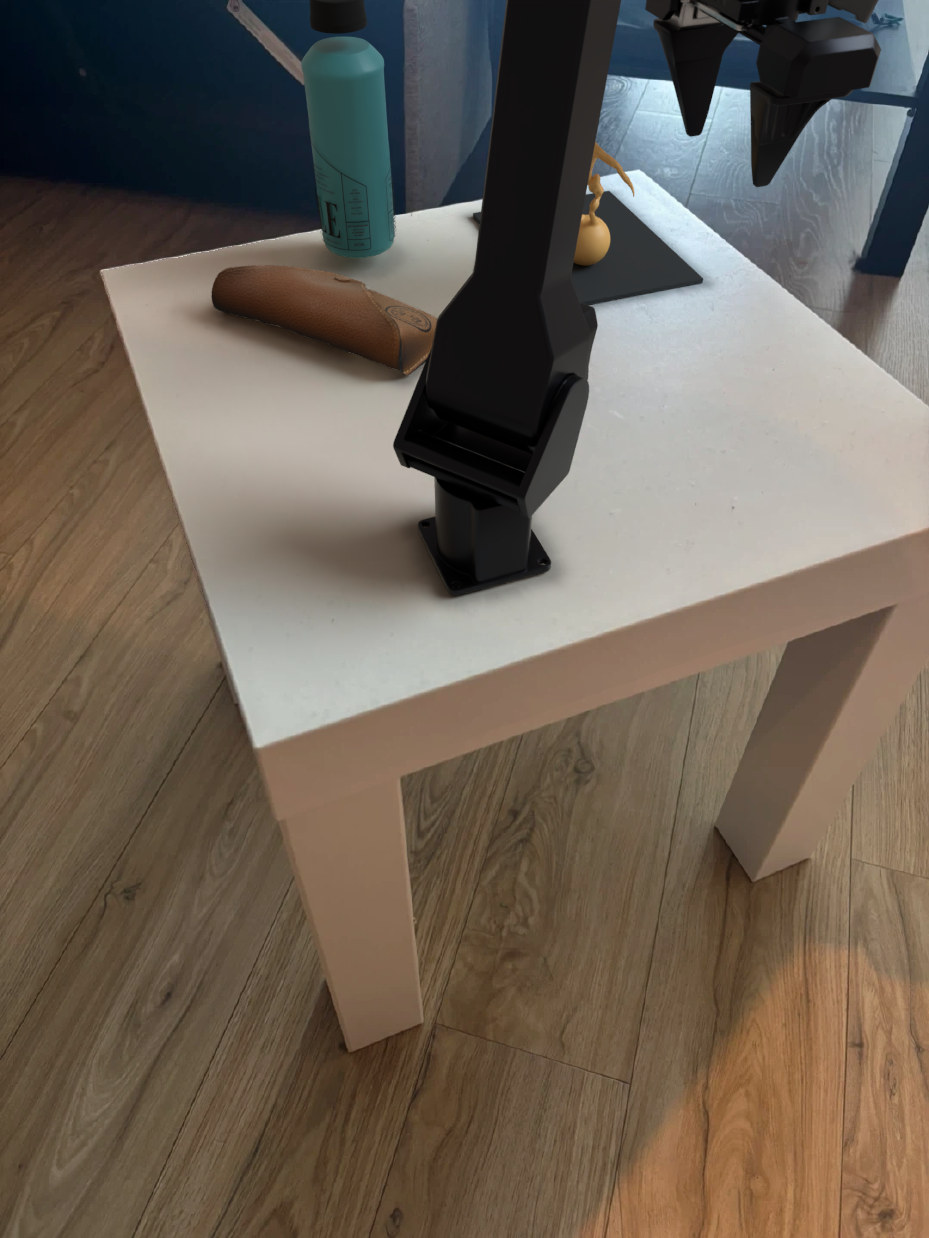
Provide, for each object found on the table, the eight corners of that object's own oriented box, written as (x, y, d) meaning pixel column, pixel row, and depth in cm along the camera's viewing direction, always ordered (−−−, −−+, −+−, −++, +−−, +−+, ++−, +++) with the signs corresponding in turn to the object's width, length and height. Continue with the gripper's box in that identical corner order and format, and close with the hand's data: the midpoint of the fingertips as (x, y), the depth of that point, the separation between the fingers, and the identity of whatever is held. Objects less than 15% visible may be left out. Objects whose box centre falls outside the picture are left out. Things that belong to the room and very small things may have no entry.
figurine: (637, 264, 80) (659, 115, 71) (610, 296, 77) (629, 143, 68) (550, 242, 83) (561, 95, 74) (519, 271, 79) (526, 121, 70)
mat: (702, 283, 79) (703, 278, 79) (550, 312, 76) (550, 308, 75) (608, 194, 90) (609, 190, 90) (472, 217, 87) (472, 213, 87)
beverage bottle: (412, 252, 82) (401, -14, 68) (367, 284, 79) (345, 10, 64) (352, 233, 85) (329, -28, 70) (306, 264, 81) (271, -5, 66)
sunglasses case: (459, 324, 73) (435, 274, 67) (420, 402, 73) (392, 358, 66) (277, 267, 79) (239, 216, 73) (238, 338, 79) (197, 293, 72)
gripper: (1002, -89, 51) (902, 197, 63) (807, -151, 63) (753, 100, 75) (830, -73, 49) (759, 222, 60) (659, -140, 60) (627, 118, 72)
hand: (725, 159), depth 67 cm, fingers open, 9 cm apart
